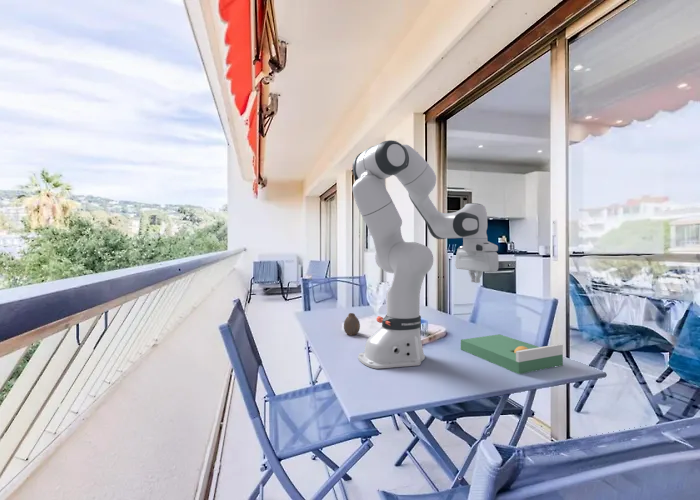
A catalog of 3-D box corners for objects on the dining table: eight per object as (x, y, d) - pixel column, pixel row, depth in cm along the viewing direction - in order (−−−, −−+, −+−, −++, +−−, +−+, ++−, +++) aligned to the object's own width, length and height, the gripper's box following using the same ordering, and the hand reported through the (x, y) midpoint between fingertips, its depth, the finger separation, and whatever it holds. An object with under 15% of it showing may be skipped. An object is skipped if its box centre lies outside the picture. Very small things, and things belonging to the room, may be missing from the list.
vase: (340, 334, 152) (340, 313, 152) (352, 331, 157) (352, 311, 157) (351, 337, 147) (351, 316, 147) (363, 334, 152) (363, 313, 151)
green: (518, 374, 104) (518, 352, 104) (460, 349, 128) (460, 331, 128) (562, 365, 111) (562, 344, 111) (499, 343, 135) (499, 326, 135)
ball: (522, 350, 110) (513, 361, 112) (537, 356, 110) (527, 368, 112) (517, 340, 115) (509, 351, 117) (531, 347, 115) (522, 358, 117)
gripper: (451, 246, 145) (451, 280, 145) (487, 246, 126) (487, 285, 126) (463, 245, 147) (464, 279, 147) (501, 246, 128) (501, 284, 128)
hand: (475, 282), depth 137 cm, fingers closed
